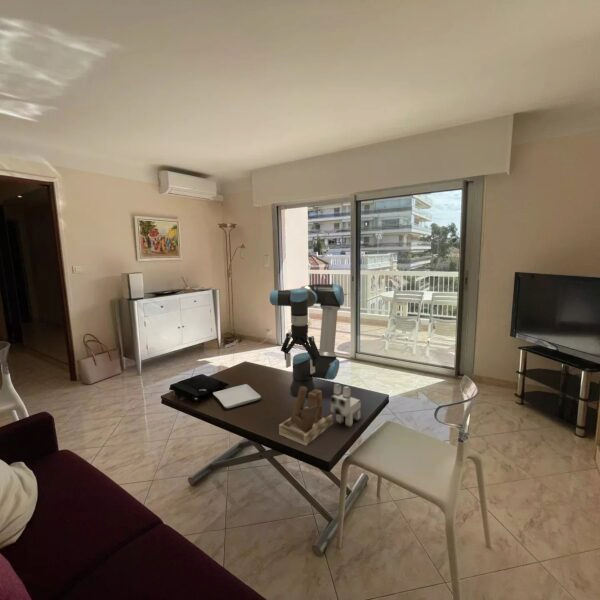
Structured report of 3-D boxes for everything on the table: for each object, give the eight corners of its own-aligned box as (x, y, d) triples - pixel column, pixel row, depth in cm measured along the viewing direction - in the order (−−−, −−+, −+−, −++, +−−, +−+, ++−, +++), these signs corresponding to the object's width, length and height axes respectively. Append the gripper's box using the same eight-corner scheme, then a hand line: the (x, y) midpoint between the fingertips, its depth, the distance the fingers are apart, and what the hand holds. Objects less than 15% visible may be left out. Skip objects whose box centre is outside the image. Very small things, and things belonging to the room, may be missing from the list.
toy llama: (362, 416, 159) (363, 378, 156) (344, 431, 146) (344, 390, 143) (349, 412, 164) (350, 375, 161) (330, 426, 150) (330, 386, 148)
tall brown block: (315, 415, 157) (315, 389, 155) (322, 418, 155) (322, 391, 153) (308, 420, 152) (308, 393, 151) (315, 423, 150) (315, 395, 148)
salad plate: (225, 412, 165) (225, 406, 165) (212, 397, 183) (212, 391, 182) (262, 402, 177) (262, 396, 176) (246, 388, 194) (246, 383, 194)
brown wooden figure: (306, 433, 142) (314, 400, 136) (290, 419, 148) (297, 386, 142) (311, 430, 144) (320, 397, 138) (295, 416, 151) (303, 384, 145)
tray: (307, 414, 162) (307, 406, 161) (332, 423, 153) (332, 415, 152) (279, 434, 144) (278, 425, 143) (305, 445, 135) (305, 436, 135)
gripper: (272, 322, 145) (273, 366, 149) (318, 329, 131) (319, 378, 134) (282, 319, 151) (283, 362, 155) (328, 325, 137) (328, 372, 140)
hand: (300, 369), depth 144 cm, fingers open, 13 cm apart
